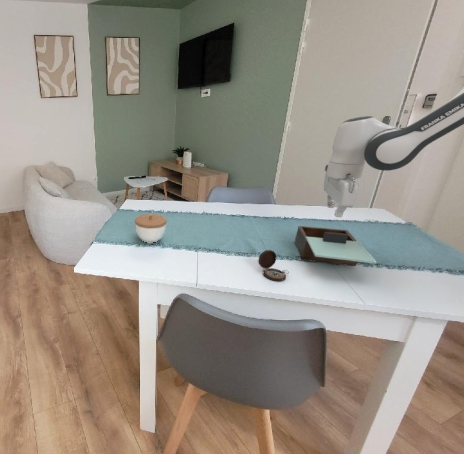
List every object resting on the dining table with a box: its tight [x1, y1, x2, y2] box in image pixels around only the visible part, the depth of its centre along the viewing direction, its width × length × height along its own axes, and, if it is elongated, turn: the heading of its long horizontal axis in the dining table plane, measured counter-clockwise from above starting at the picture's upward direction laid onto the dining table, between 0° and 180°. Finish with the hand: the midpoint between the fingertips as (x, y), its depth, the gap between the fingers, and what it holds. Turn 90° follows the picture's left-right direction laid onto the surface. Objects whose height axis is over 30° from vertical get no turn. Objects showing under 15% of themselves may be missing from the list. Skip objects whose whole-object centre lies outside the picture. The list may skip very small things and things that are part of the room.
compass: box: [257, 249, 290, 282], centre depth 91 cm, size 8×8×7 cm
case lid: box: [306, 232, 377, 265], centre depth 90 cm, size 15×14×4 cm
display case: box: [294, 225, 358, 267], centre depth 102 cm, size 15×14×7 cm
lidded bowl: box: [134, 213, 168, 244], centre depth 118 cm, size 13×13×11 cm
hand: (333, 211), depth 98 cm, fingers open, 8 cm apart
